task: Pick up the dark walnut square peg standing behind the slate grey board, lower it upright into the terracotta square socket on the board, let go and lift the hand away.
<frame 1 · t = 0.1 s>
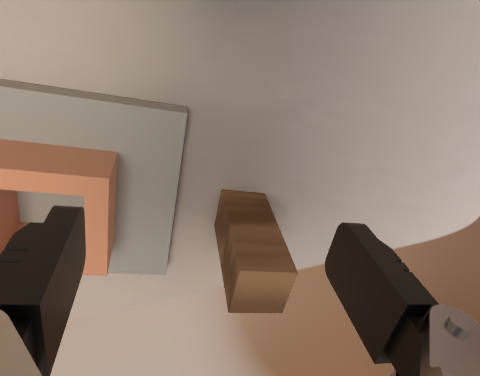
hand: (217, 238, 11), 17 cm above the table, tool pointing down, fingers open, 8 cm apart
walnut peg: (239, 209, 32), on the table
socket block: (62, 185, 28), on the table
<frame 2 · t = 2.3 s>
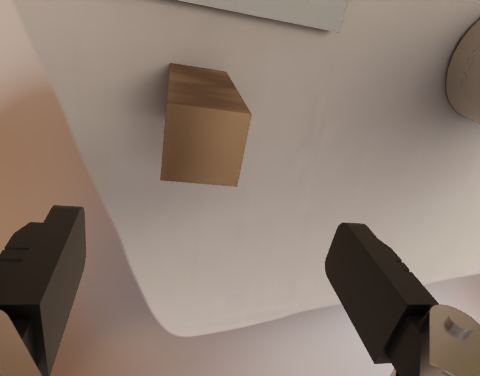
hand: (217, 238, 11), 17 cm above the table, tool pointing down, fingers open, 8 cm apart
walnut peg: (195, 95, 26), on the table
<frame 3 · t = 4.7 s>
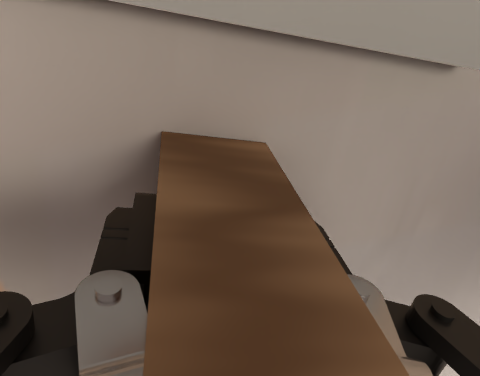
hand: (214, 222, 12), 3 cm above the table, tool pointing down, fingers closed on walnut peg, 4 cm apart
walnut peg: (208, 183, 14), on the table, touching gripper
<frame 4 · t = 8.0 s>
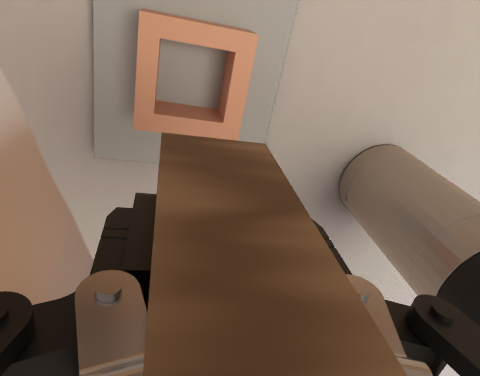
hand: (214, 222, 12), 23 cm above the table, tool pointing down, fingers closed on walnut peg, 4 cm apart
walnut peg: (208, 184, 14), point 20 cm above the table, touching gripper
socket block: (190, 69, 31), on the table
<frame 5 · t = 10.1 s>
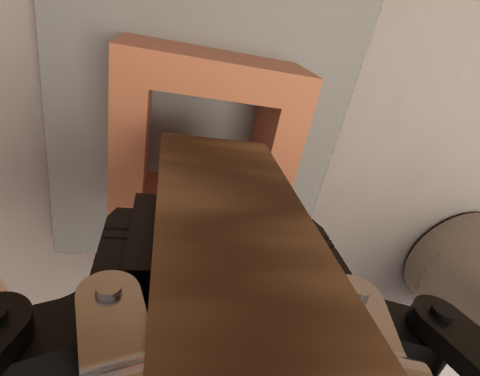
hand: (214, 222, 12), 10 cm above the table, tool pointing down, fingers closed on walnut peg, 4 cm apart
walnut peg: (208, 184, 14), point 7 cm above the table, touching gripper
socket block: (200, 121, 20), on the table
when the fingers open (6 cm above the table, at t = 11.6 s): walnut peg drops 2 cm, resting on socket block.
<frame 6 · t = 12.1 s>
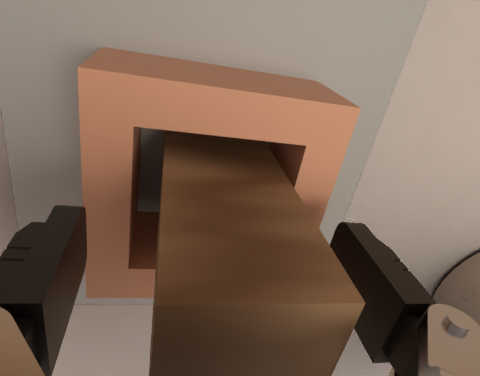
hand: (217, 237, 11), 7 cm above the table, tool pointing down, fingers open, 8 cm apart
walnut peg: (207, 165, 16), point 1 cm above the table, touching socket block
socket block: (201, 149, 17), on the table
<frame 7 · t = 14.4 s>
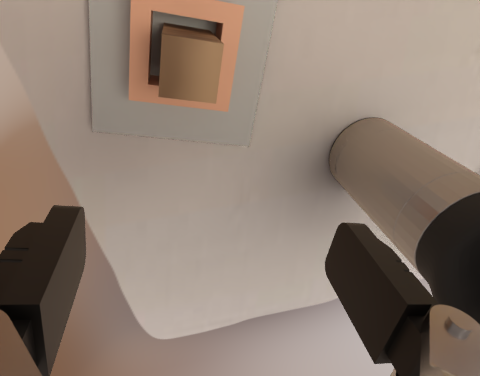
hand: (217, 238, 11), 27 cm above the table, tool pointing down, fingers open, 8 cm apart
walnut peg: (184, 49, 32), point 1 cm above the table, touching socket block
socket block: (182, 45, 33), on the table
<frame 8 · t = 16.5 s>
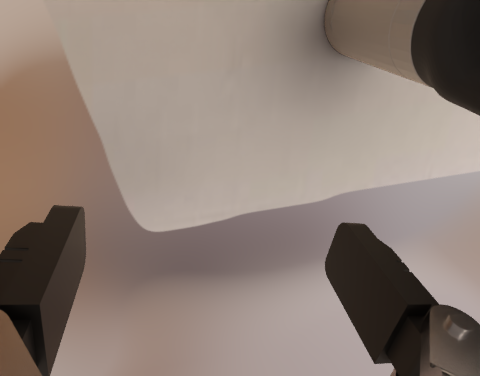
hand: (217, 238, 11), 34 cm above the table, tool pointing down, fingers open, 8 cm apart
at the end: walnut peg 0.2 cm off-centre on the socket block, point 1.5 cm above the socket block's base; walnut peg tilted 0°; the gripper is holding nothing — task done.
